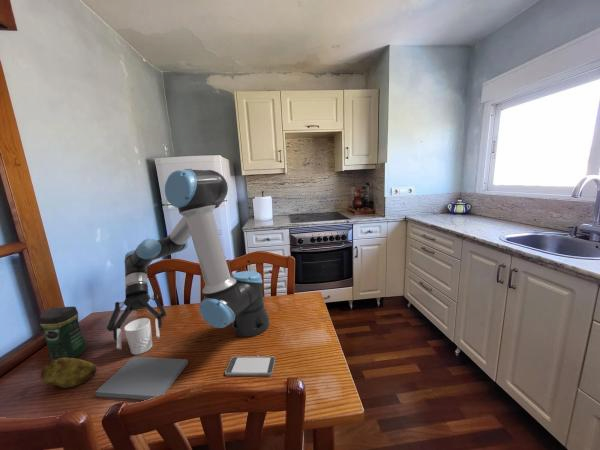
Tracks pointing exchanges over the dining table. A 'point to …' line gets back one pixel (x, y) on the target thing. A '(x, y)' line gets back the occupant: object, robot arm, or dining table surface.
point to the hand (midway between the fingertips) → (139, 342)
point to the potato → (67, 372)
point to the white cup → (139, 335)
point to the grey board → (143, 378)
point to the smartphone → (250, 366)
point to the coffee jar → (62, 332)
